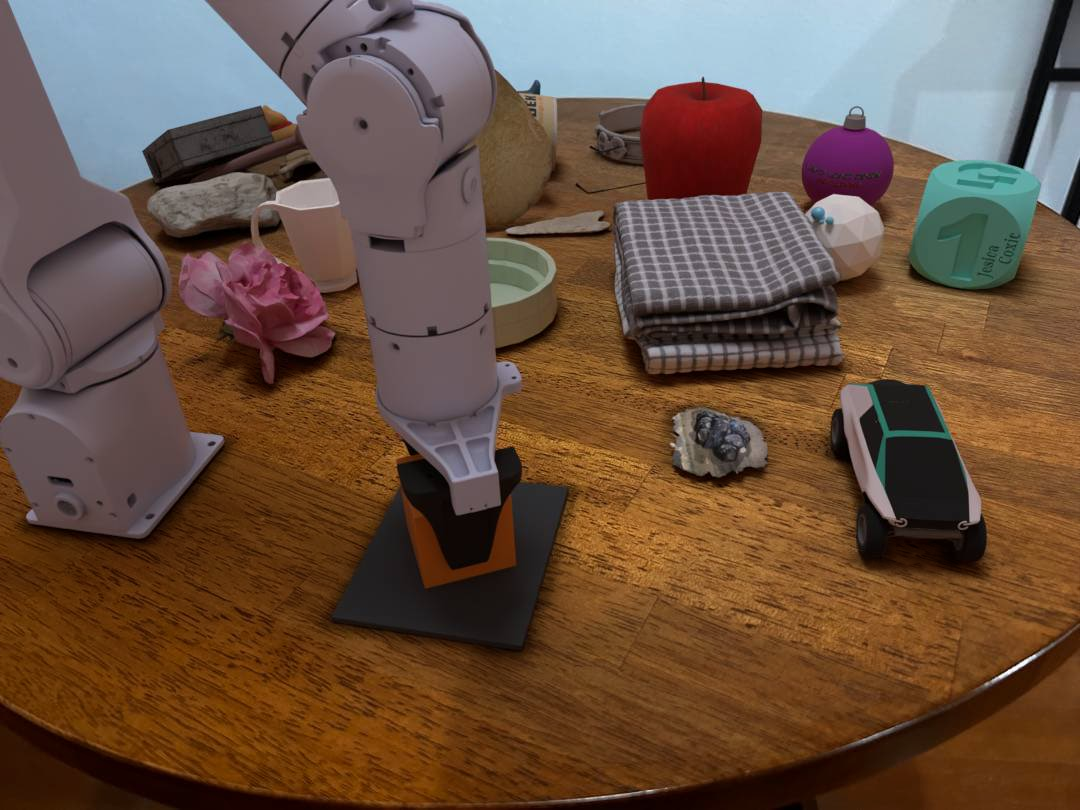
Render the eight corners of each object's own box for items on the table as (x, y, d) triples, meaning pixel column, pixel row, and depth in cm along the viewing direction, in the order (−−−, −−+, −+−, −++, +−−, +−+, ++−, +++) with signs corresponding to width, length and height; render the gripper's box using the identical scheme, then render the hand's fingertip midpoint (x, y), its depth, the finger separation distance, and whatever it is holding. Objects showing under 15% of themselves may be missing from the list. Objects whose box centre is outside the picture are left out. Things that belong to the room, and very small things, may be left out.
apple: (630, 244, 80) (634, 91, 72) (646, 201, 88) (651, 59, 80) (749, 252, 77) (766, 95, 70) (754, 207, 85) (770, 62, 78)
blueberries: (688, 495, 52) (690, 470, 50) (638, 419, 58) (638, 396, 57) (791, 471, 53) (795, 446, 52) (731, 400, 59) (733, 376, 58)
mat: (522, 651, 43) (521, 646, 42) (331, 622, 45) (330, 616, 44) (568, 492, 52) (568, 487, 52) (410, 473, 54) (409, 468, 54)
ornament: (881, 214, 74) (898, 179, 67) (870, 296, 74) (885, 270, 66) (798, 207, 76) (806, 172, 68) (787, 287, 75) (793, 260, 67)
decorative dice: (902, 279, 72) (923, 186, 68) (918, 241, 78) (938, 154, 74) (1008, 298, 69) (1038, 202, 65) (1016, 257, 75) (1044, 166, 70)
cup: (357, 302, 73) (341, 210, 68) (246, 296, 74) (222, 206, 70) (384, 264, 78) (371, 178, 74) (280, 260, 80) (260, 174, 75)
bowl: (538, 361, 64) (536, 314, 62) (382, 348, 67) (375, 302, 64) (570, 285, 74) (569, 241, 72) (432, 276, 76) (427, 233, 74)
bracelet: (656, 174, 93) (657, 147, 92) (567, 146, 102) (567, 120, 100) (735, 142, 101) (738, 116, 99) (647, 118, 109) (648, 94, 108)
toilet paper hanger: (363, 105, 101) (398, 83, 89) (392, 175, 104) (430, 163, 91) (182, 172, 94) (194, 158, 81) (219, 245, 96) (235, 242, 84)
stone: (344, -50, 86) (351, -6, 92) (239, 48, 82) (253, 87, 88) (589, 125, 83) (580, 159, 89) (494, 235, 79) (490, 263, 85)
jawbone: (263, 169, 101) (259, 151, 100) (428, 139, 108) (426, 122, 107) (281, 187, 94) (277, 168, 93) (456, 154, 101) (454, 136, 100)
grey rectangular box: (236, 162, 103) (152, 186, 98) (223, 128, 102) (137, 152, 97) (277, 142, 89) (181, 169, 85) (262, 103, 88) (164, 129, 84)
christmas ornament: (891, 202, 86) (912, 98, 80) (875, 234, 80) (897, 124, 74) (807, 190, 89) (822, 89, 83) (786, 220, 83) (800, 114, 77)
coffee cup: (558, 155, 89) (439, 152, 88) (551, 193, 98) (444, 190, 97) (557, 70, 91) (441, 67, 90) (551, 116, 100) (445, 113, 99)
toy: (232, 147, 107) (223, 105, 104) (373, 142, 107) (368, 100, 104) (225, 155, 104) (215, 112, 101) (370, 150, 104) (364, 107, 101)
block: (516, 566, 47) (511, 495, 44) (424, 589, 46) (413, 518, 43) (492, 507, 51) (486, 438, 48) (407, 527, 50) (395, 458, 47)
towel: (780, 259, 76) (792, 172, 71) (846, 375, 61) (866, 273, 56) (605, 267, 76) (606, 180, 71) (628, 385, 61) (630, 284, 56)
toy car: (922, 435, 55) (941, 364, 52) (978, 573, 46) (1006, 496, 43) (826, 432, 56) (839, 361, 53) (862, 567, 46) (880, 491, 43)
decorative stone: (209, 261, 80) (194, 209, 77) (136, 237, 85) (120, 187, 82) (307, 214, 88) (297, 166, 85) (236, 194, 93) (224, 148, 90)
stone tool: (602, 213, 86) (502, 225, 85) (602, 205, 85) (501, 217, 84) (615, 233, 82) (510, 246, 81) (615, 224, 82) (510, 238, 80)
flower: (345, 354, 72) (380, 284, 65) (259, 426, 66) (287, 357, 58) (241, 263, 72) (264, 181, 64) (145, 325, 66) (159, 243, 58)
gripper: (564, 369, 35) (570, 604, 42) (475, 230, 46) (493, 435, 54) (387, 405, 33) (428, 642, 41) (340, 252, 44) (379, 460, 52)
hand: (456, 527), depth 47 cm, fingers closed on block, 5 cm apart
